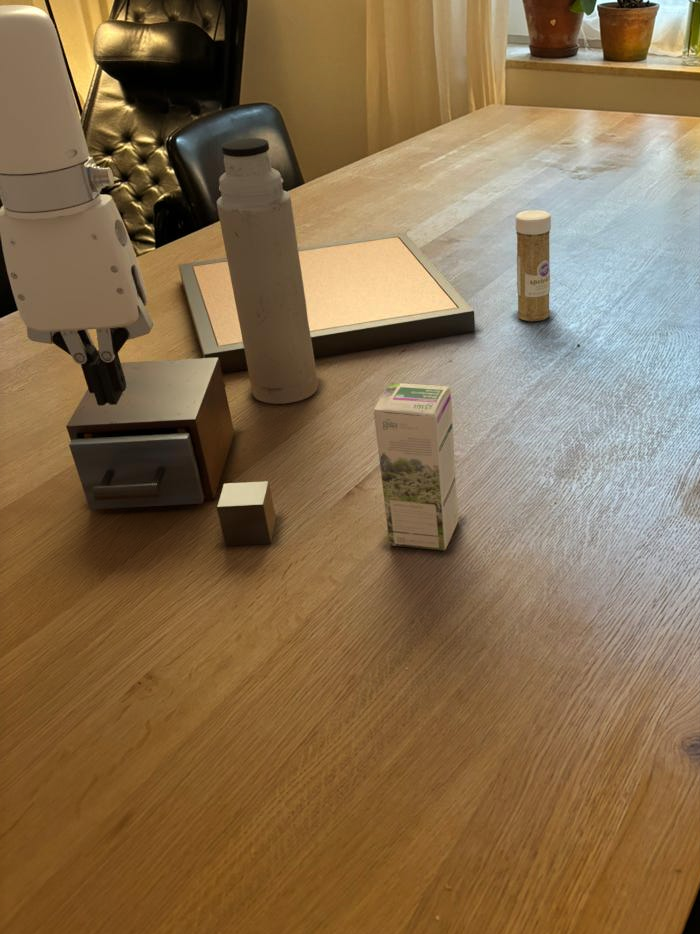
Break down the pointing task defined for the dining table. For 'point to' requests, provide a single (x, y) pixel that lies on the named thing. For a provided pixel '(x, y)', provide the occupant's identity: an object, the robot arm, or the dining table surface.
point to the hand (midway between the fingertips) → (111, 398)
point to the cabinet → (168, 409)
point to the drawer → (138, 468)
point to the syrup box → (417, 464)
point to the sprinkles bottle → (533, 264)
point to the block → (246, 513)
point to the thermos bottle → (265, 274)
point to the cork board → (338, 299)
